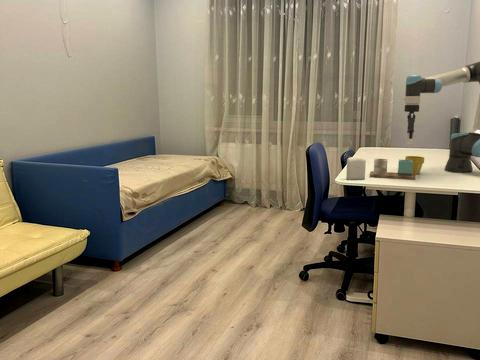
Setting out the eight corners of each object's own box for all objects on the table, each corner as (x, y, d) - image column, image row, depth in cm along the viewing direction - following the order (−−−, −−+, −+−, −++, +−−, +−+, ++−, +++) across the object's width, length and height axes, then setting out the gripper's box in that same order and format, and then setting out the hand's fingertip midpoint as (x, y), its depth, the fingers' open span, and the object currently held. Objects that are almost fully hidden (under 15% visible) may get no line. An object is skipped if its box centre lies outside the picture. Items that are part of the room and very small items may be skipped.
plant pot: (424, 172, 260) (425, 156, 258) (421, 175, 251) (422, 158, 249) (406, 171, 265) (407, 155, 263) (402, 173, 256) (403, 157, 255)
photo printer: (347, 180, 237) (348, 157, 235) (345, 178, 241) (346, 156, 239) (366, 179, 238) (367, 157, 236) (363, 178, 242) (364, 156, 240)
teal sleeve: (397, 173, 249) (398, 159, 248) (411, 174, 247) (412, 160, 245) (397, 175, 242) (398, 161, 241) (411, 176, 240) (412, 161, 239)
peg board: (414, 176, 249) (415, 159, 247) (415, 179, 237) (416, 162, 236) (370, 173, 256) (371, 157, 254) (369, 177, 245) (370, 160, 243)
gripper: (404, 104, 250) (402, 141, 254) (405, 104, 227) (402, 145, 231) (418, 103, 248) (415, 141, 252) (420, 104, 225) (418, 146, 229)
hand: (409, 143), depth 241 cm, fingers open, 13 cm apart
